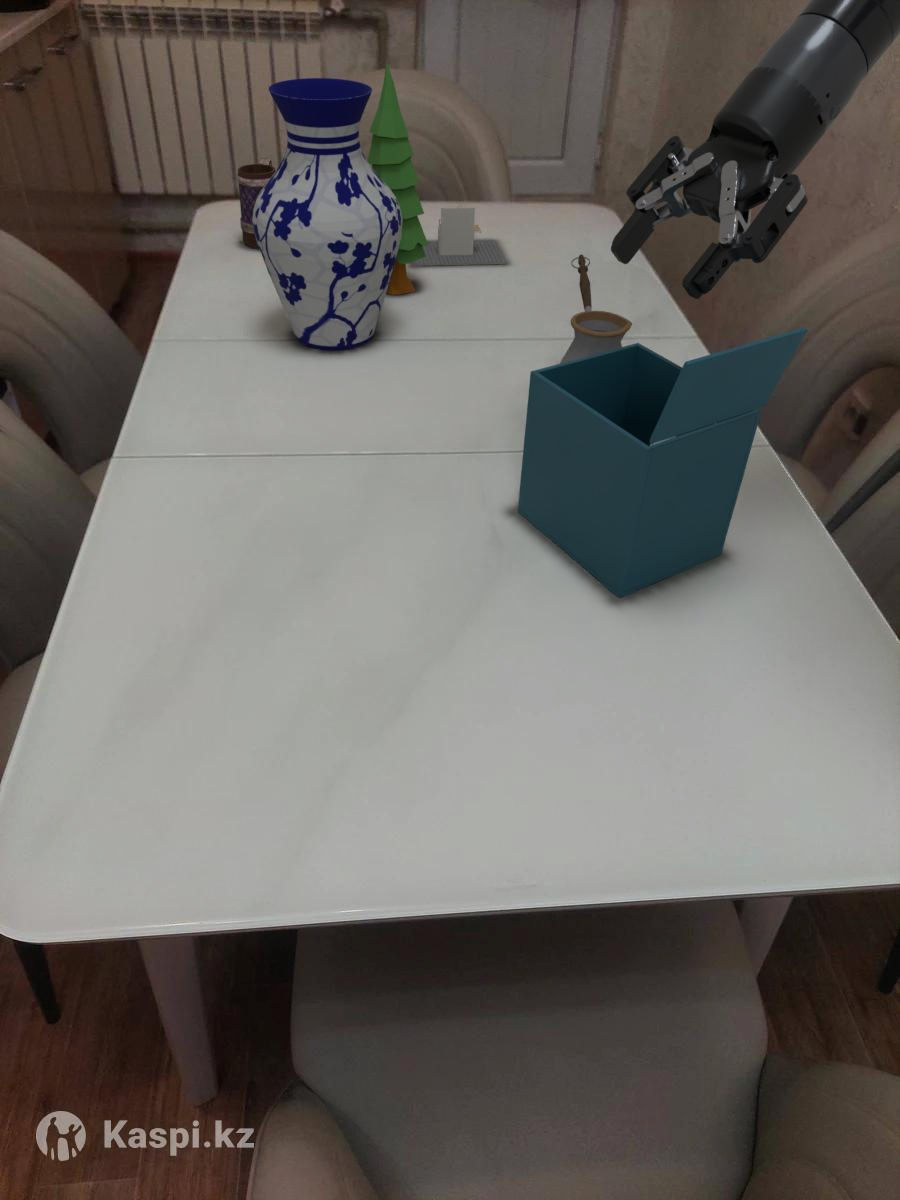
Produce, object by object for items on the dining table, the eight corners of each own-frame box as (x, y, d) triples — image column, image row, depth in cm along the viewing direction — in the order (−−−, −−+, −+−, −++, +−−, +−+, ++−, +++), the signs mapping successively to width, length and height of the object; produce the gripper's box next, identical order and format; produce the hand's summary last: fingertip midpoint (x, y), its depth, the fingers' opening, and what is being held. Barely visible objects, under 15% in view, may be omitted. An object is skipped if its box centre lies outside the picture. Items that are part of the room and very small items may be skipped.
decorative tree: (380, 273, 141) (375, 54, 122) (436, 280, 139) (440, 59, 120) (359, 295, 134) (350, 66, 115) (418, 303, 132) (419, 72, 113)
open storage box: (721, 555, 86) (761, 411, 76) (618, 598, 81) (648, 450, 71) (614, 477, 97) (638, 342, 87) (517, 511, 91) (530, 371, 81)
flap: (762, 403, 76) (764, 406, 76) (648, 441, 71) (651, 444, 71) (805, 326, 70) (808, 329, 70) (684, 361, 65) (687, 364, 64)
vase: (268, 368, 115) (239, 107, 95) (262, 310, 129) (236, 72, 109) (413, 359, 118) (414, 105, 98) (392, 303, 132) (389, 71, 112)
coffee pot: (643, 452, 101) (667, 325, 91) (542, 451, 100) (556, 323, 91) (610, 368, 117) (628, 253, 108) (523, 367, 117) (533, 251, 107)
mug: (277, 251, 147) (270, 173, 140) (236, 247, 148) (227, 170, 140) (296, 231, 155) (290, 157, 147) (257, 228, 156) (249, 154, 148)
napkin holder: (436, 248, 151) (437, 202, 146) (476, 247, 152) (479, 201, 147) (439, 255, 148) (440, 208, 143) (480, 254, 149) (482, 207, 144)
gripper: (705, 48, 71) (574, 219, 73) (852, 81, 62) (697, 275, 64) (737, 116, 76) (614, 273, 79) (875, 156, 67) (732, 331, 70)
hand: (651, 274), depth 71 cm, fingers open, 8 cm apart
